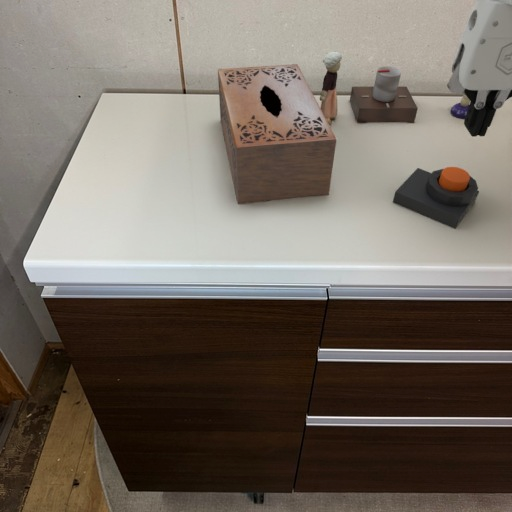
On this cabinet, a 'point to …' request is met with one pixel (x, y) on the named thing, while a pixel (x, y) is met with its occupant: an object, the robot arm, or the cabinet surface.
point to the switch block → (435, 197)
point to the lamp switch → (454, 179)
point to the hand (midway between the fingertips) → (474, 130)
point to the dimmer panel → (382, 106)
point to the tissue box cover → (274, 134)
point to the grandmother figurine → (330, 86)
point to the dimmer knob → (386, 84)
